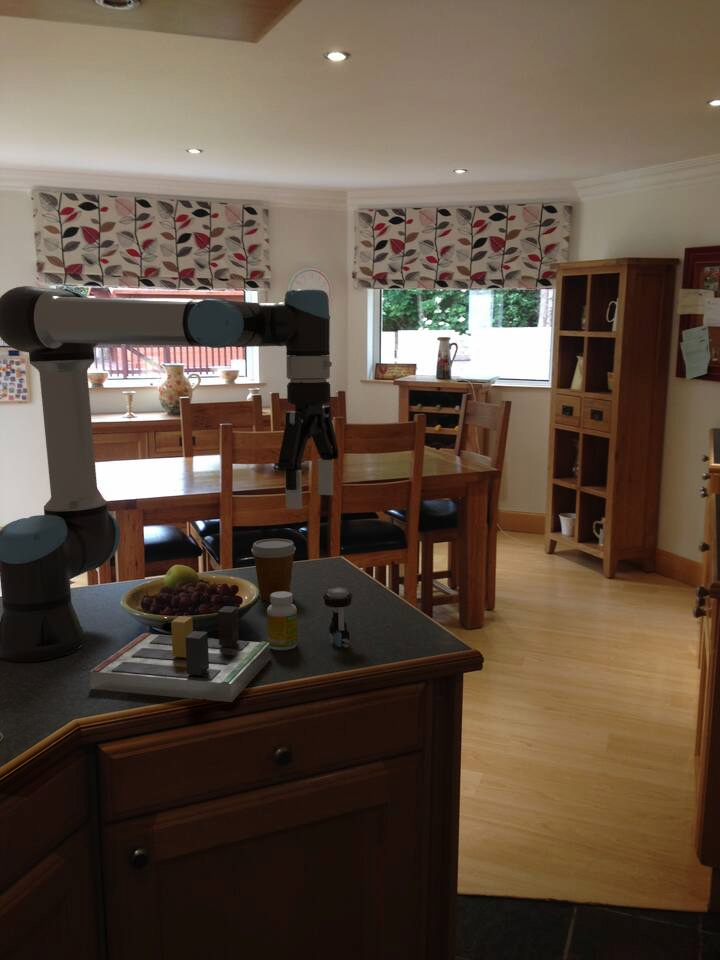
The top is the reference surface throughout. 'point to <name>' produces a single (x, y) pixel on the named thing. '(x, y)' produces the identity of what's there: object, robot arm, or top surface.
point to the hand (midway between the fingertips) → (310, 501)
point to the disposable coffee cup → (273, 565)
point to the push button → (338, 615)
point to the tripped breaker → (180, 634)
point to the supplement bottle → (282, 621)
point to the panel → (185, 664)
